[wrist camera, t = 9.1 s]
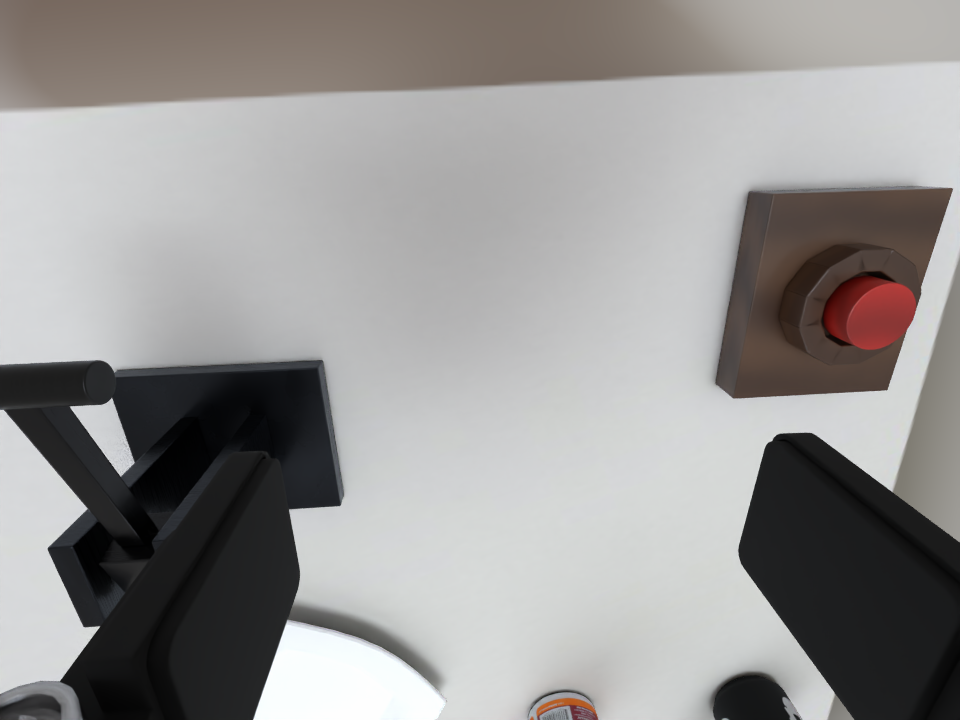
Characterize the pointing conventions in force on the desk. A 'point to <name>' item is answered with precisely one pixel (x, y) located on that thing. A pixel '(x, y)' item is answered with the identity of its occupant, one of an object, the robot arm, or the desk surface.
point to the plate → (342, 680)
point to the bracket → (204, 453)
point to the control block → (820, 284)
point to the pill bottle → (563, 708)
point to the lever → (82, 453)
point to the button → (869, 312)
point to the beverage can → (753, 701)
